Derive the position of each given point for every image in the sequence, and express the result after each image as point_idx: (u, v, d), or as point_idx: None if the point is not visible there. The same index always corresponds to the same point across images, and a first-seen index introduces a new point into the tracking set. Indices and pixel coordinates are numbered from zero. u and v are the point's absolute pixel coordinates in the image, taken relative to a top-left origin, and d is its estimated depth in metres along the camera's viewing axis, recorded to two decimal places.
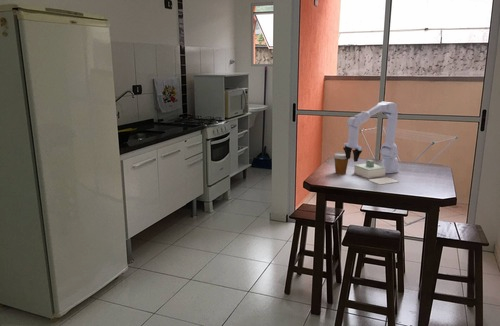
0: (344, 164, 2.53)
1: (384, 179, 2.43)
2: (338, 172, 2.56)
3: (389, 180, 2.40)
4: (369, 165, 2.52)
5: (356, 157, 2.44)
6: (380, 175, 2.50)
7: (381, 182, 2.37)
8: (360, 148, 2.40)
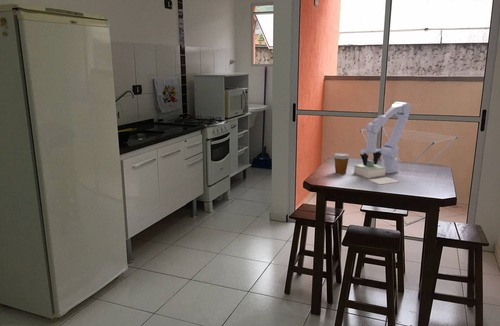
0: (344, 164, 2.53)
1: (384, 179, 2.43)
2: (338, 172, 2.56)
3: (389, 180, 2.40)
4: (369, 165, 2.52)
5: (364, 161, 2.51)
6: (380, 175, 2.50)
7: (381, 182, 2.37)
8: (361, 152, 2.49)
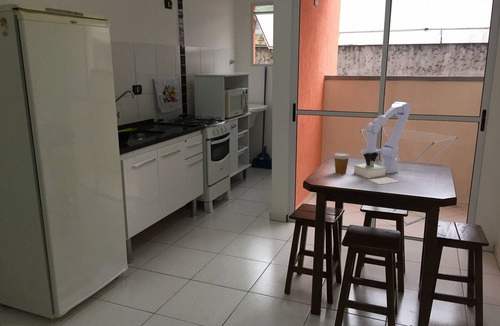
0: (344, 164, 2.53)
1: (384, 179, 2.43)
2: (338, 172, 2.56)
3: (389, 180, 2.40)
4: (369, 165, 2.52)
5: (367, 161, 2.52)
6: (380, 175, 2.50)
7: (381, 182, 2.37)
8: (361, 152, 2.49)
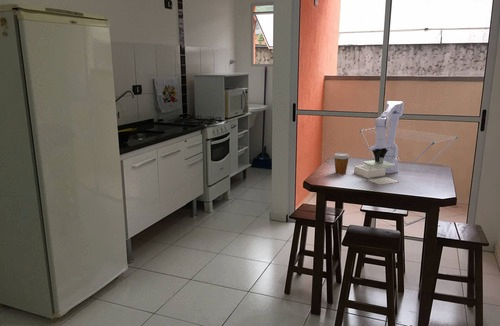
0: (344, 164, 2.53)
1: (384, 179, 2.43)
2: (338, 172, 2.56)
3: (389, 180, 2.40)
4: (378, 162, 2.42)
5: (376, 157, 2.42)
6: (380, 175, 2.50)
7: (381, 182, 2.37)
8: (370, 148, 2.38)
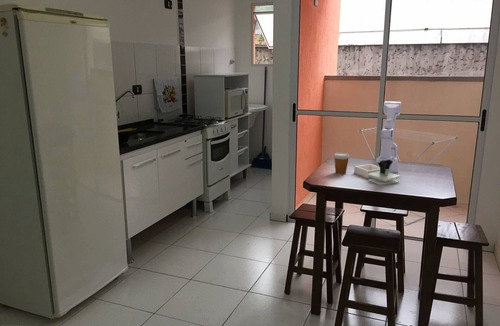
0: (344, 164, 2.53)
1: None
2: (338, 172, 2.56)
3: None
4: (384, 174, 2.38)
5: (382, 169, 2.38)
6: None
7: (381, 182, 2.37)
8: (377, 160, 2.33)
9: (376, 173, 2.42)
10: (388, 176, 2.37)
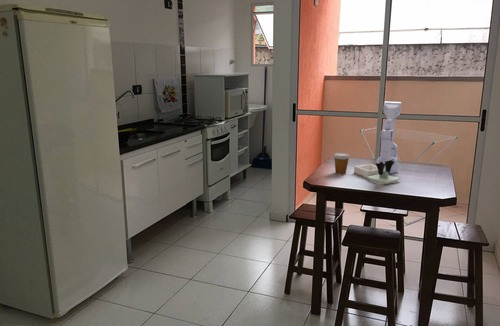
0: (344, 164, 2.53)
1: None
2: (338, 172, 2.56)
3: None
4: (383, 176, 2.38)
5: (380, 170, 2.37)
6: None
7: None
8: (377, 161, 2.33)
9: (376, 176, 2.43)
10: (388, 179, 2.37)
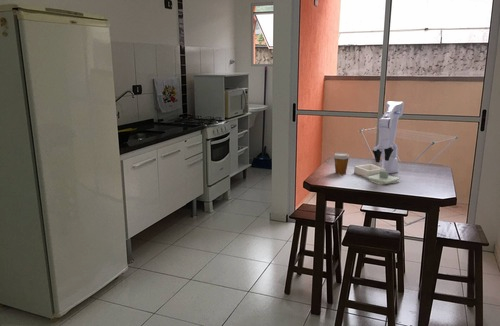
0: (344, 164, 2.53)
1: None
2: (338, 172, 2.56)
3: None
4: (383, 176, 2.38)
5: (377, 158, 2.42)
6: None
7: None
8: (374, 148, 2.39)
9: (376, 176, 2.43)
10: (388, 179, 2.37)
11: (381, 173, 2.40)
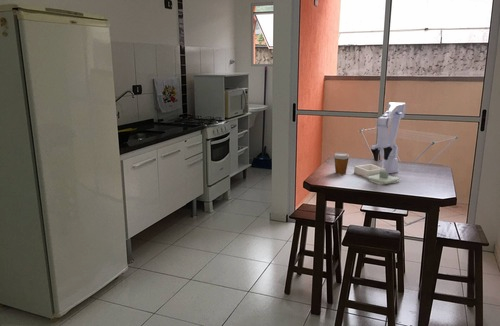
0: (344, 164, 2.53)
1: None
2: (338, 172, 2.56)
3: None
4: (383, 176, 2.38)
5: (375, 156, 2.44)
6: None
7: None
8: (372, 147, 2.42)
9: (376, 176, 2.43)
10: (388, 179, 2.37)
11: (381, 173, 2.40)
